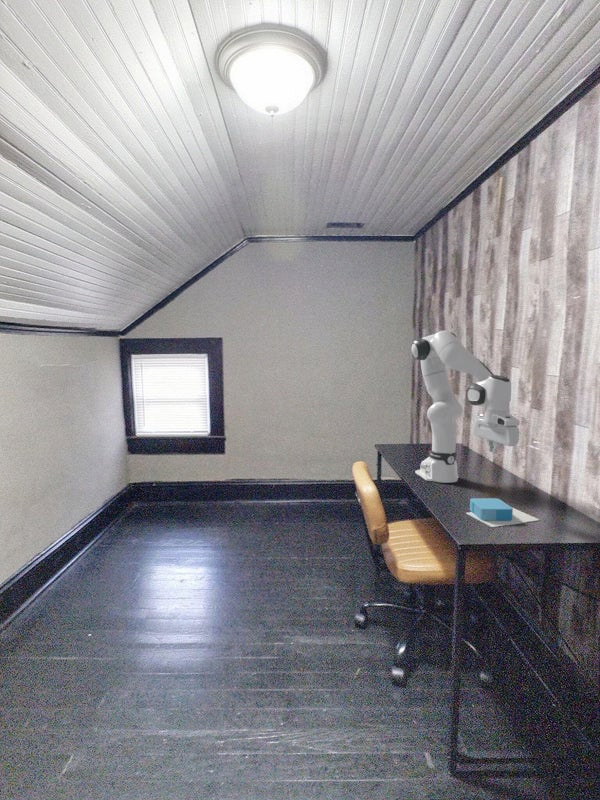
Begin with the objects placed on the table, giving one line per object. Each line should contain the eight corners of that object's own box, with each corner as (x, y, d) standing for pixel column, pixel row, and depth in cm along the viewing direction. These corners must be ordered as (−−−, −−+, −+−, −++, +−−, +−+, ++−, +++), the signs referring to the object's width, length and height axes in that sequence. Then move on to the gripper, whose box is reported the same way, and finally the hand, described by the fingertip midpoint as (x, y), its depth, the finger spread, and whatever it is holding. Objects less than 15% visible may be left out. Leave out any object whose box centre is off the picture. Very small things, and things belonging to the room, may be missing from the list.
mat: (465, 513, 165) (465, 512, 165) (510, 507, 172) (510, 506, 172) (492, 527, 152) (492, 526, 152) (539, 520, 159) (539, 519, 159)
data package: (468, 509, 169) (481, 520, 157) (468, 498, 169) (482, 509, 157) (497, 509, 170) (513, 520, 158) (498, 498, 169) (514, 509, 157)
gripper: (471, 413, 174) (468, 446, 176) (509, 422, 155) (506, 459, 156) (483, 412, 176) (480, 445, 178) (523, 422, 157) (519, 458, 158)
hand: (493, 452), depth 167 cm, fingers closed
